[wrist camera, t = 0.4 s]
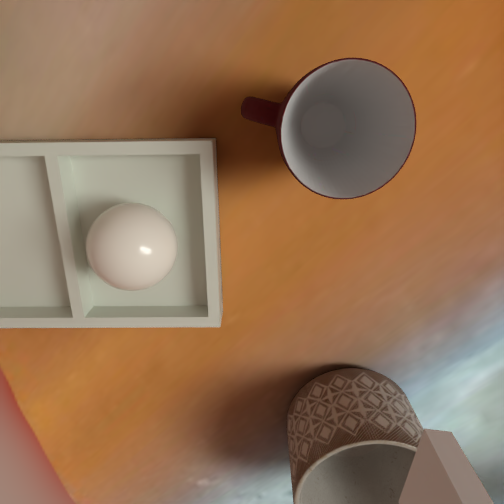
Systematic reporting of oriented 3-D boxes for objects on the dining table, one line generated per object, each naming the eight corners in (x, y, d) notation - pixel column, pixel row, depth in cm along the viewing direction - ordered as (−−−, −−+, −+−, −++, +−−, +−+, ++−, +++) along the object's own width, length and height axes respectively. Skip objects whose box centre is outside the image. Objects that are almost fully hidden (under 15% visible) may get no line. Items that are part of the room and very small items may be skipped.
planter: (423, 372, 41) (474, 455, 31) (386, 467, 45) (421, 566, 36) (300, 351, 41) (314, 428, 31) (274, 449, 45) (279, 545, 35)
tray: (-83, 141, 34) (-113, 144, 31) (215, 137, 34) (212, 140, 31) (-36, 312, 40) (-59, 328, 37) (222, 311, 39) (220, 327, 36)
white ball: (99, 194, 35) (62, 215, 28) (181, 194, 35) (164, 214, 28) (110, 271, 37) (78, 306, 31) (187, 270, 37) (171, 306, 30)
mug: (238, 167, 35) (231, 189, 25) (247, 63, 32) (242, 44, 23) (362, 179, 35) (400, 206, 25) (380, 77, 32) (432, 64, 23)
